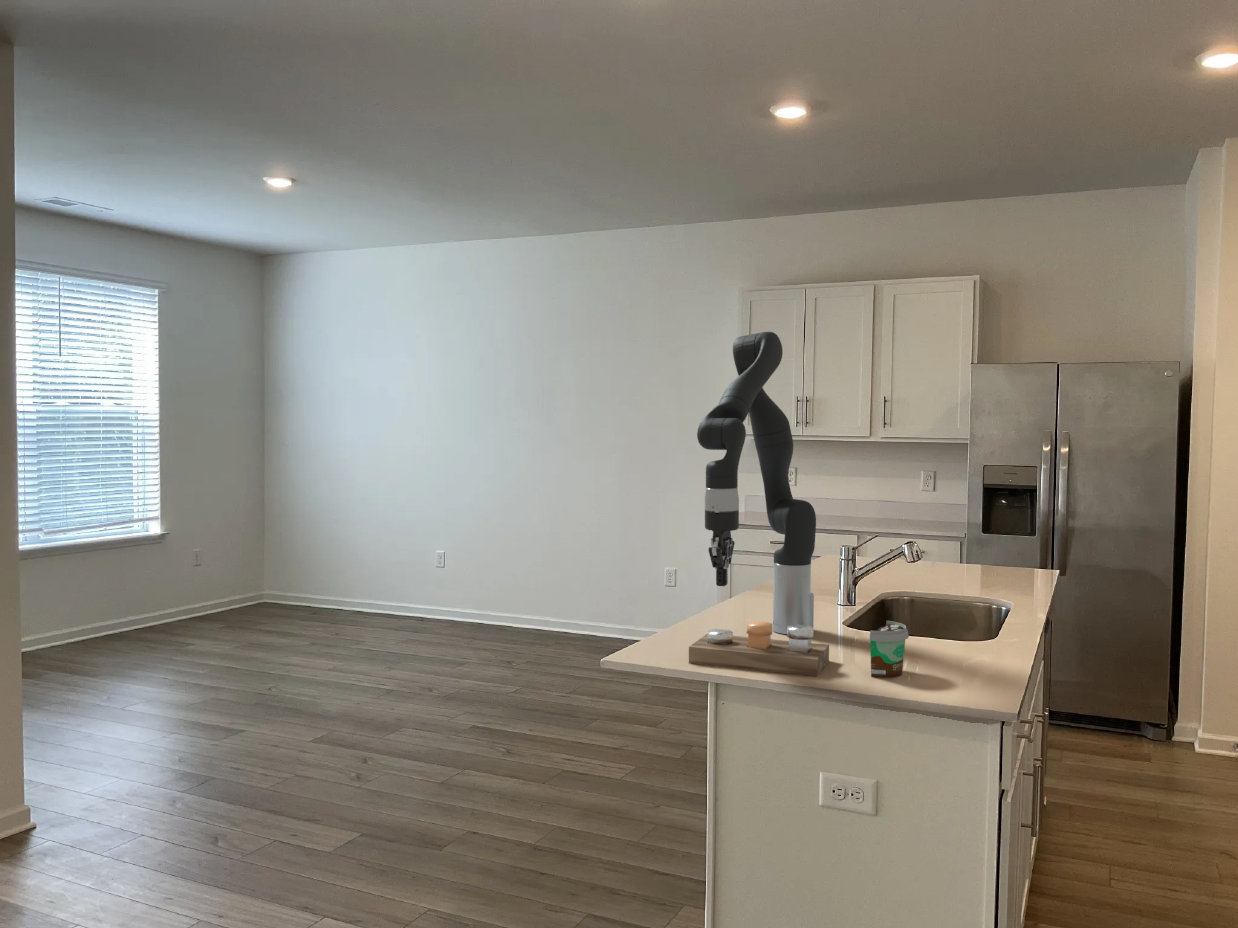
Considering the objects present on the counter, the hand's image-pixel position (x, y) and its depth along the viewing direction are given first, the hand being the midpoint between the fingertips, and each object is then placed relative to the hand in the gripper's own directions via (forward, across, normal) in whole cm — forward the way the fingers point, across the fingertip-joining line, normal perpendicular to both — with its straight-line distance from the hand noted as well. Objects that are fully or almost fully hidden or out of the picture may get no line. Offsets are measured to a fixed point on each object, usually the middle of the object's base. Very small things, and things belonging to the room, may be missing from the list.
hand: (721, 585), depth 218 cm
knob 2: (+14, 0, +18) cm, 22 cm away
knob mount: (+16, 0, +9) cm, 19 cm away
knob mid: (+14, 0, +9) cm, 16 cm away
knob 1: (+16, 0, 0) cm, 16 cm away
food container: (+17, -1, +37) cm, 41 cm away
